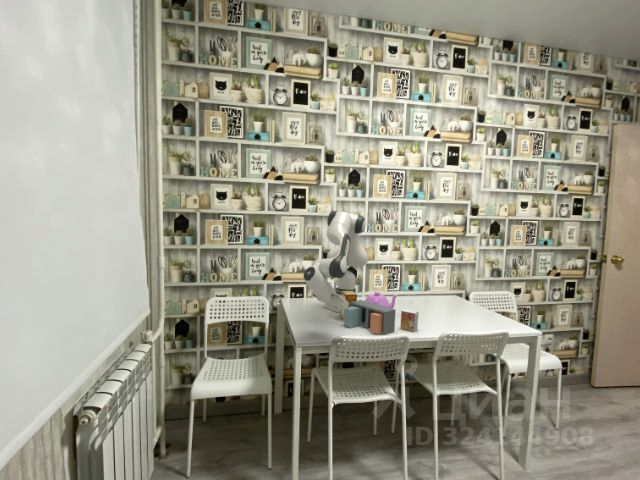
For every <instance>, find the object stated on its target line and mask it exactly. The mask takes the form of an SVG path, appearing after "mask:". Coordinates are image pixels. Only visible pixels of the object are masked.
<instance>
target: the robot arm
mask: <svg viewBox="0 0 640 480" xmlns="http://www.w3.org/2000/svg"><path fill="white" fill-rule="evenodd" d="M326 220H327V226H328V227H327V231H326V237H327V239H328V241H330V243H332V244H333V245H334V246H338V248H333V249H330V250H329V251H328V252H327V255H326V258H319V259H315V260H314V261H313V263H312V265H311V266H309V267H307V268H306V269H305V271H304V272H303V280H304V282H305V284H306V286H307V287H309V289H310V290H311V293H310V294H311V296H312V297H314V298H315V299H316V300H317V301H319V302H321V303H324V304H323V307H324V308H326V309H328V310H330V311H332V312H334V313H340V311H341V308H342V309H347V307H348V306H349V303H348V302H347V301H346V300H345V299H344V298H343V297H342V296H341V291H353V292H354V293H355V294H357V289H356V275H355V274H354V273H353V272H352V271H349V270H348V267H355V268H357V267H363V266H365V265H367V263H368V261H369V254H368V253H367V251H366V250H364V249H363V248H362V247H361V246H360V244H359V234H362V233H363V232H364V230H365V229H366V225H367V224H366V218H365V217H364V216H363V215H360V214H359V215H358V214H356V213H352V212H346V211H338V210H333V211H331V212H330V213H329V214H328V216H327V219H326ZM328 279H337V287H333V286H332V285H331V283H330V282H329V281H328Z"/></svg>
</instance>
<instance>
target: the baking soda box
mask: <svg viewBox="0 0 640 480" xmlns="http://www.w3.org/2000/svg"><path fill="white" fill-rule="evenodd" d="M341 296H342V297H343V298H344V299H345V300H346V301H347V302H348V303H349V306H348V307H351V302H353V301H358V300H357V298H358V294H357V293H356V294H355V293H354V292H353V291H341ZM339 316H340V318H341V319H342V320H343V321H344V309H342V308H341V311H340V312H339Z"/></svg>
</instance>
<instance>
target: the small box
mask: <svg viewBox="0 0 640 480" xmlns="http://www.w3.org/2000/svg"><path fill="white" fill-rule="evenodd" d="M419 312H420V311H419V310H418V311H417V310H413V309H412V310H411V309H406V308H404V309H402V310H401V313H400V314H401V315H400V327H399V329H400V330H402V331H406V332H410V331H411V332H410V333H415V332H416V331H418V327H419Z"/></svg>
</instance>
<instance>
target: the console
mask: <svg viewBox="0 0 640 480" xmlns="http://www.w3.org/2000/svg"><path fill="white" fill-rule="evenodd" d="M351 306H359V307H362V323H364V329H365V330H366V329H367V330H370V320H371V313H375V312H379V313H382V314H384V319H383V333H382V335H388V334H391V333H395V326H396V325H395V324H396V310H397V309H395V308H393V309H392V308H388V307H385V306H381V305H377V304H374V303H370V302H367V301H365V300H364V299H363V300H362V299H359V300H357V301H353V302H351Z"/></svg>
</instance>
